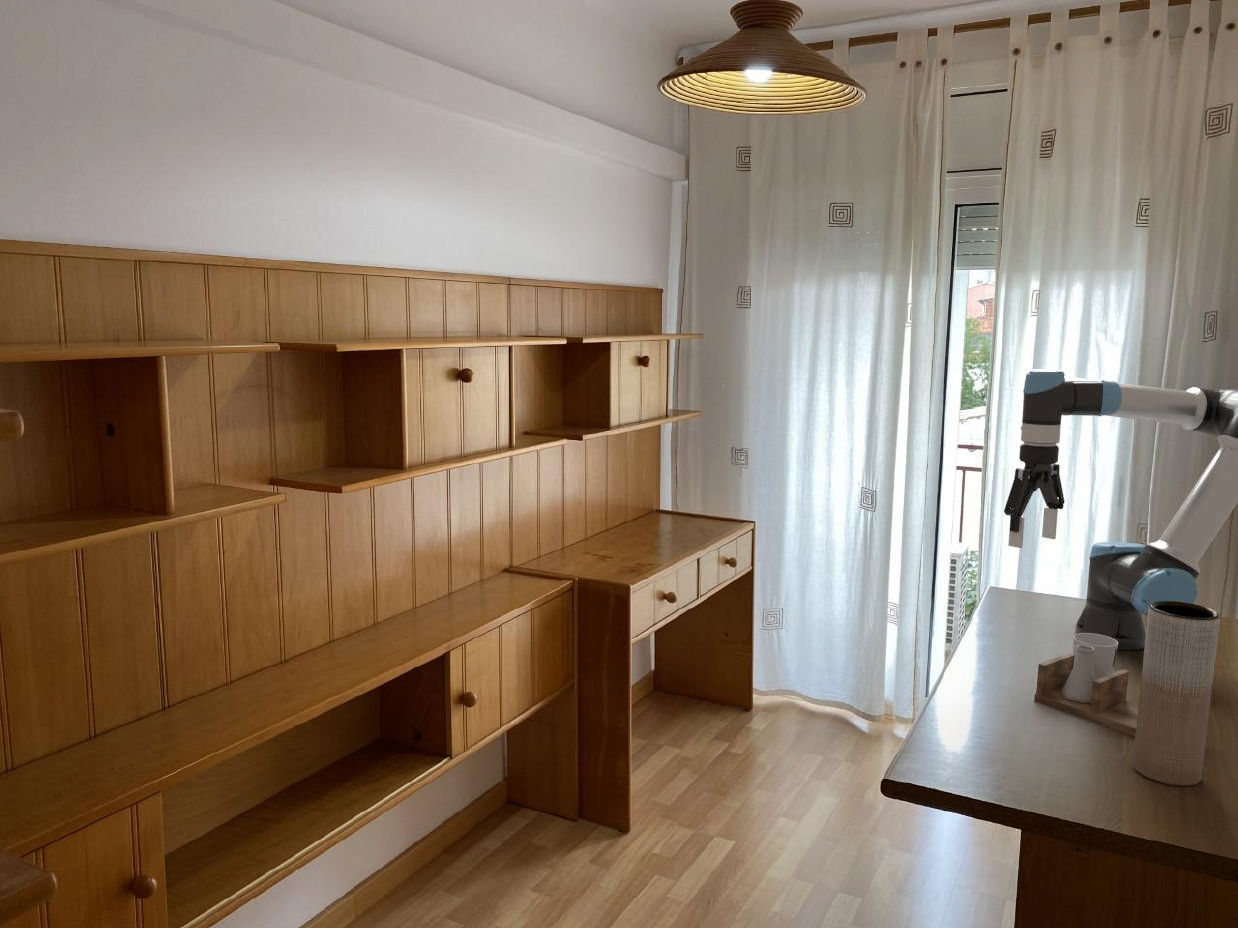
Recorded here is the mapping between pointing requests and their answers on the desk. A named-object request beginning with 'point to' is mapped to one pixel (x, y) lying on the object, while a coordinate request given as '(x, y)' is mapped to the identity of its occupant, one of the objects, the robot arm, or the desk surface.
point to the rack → (1105, 696)
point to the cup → (1098, 652)
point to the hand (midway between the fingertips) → (1032, 542)
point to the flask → (1081, 676)
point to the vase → (1175, 692)
